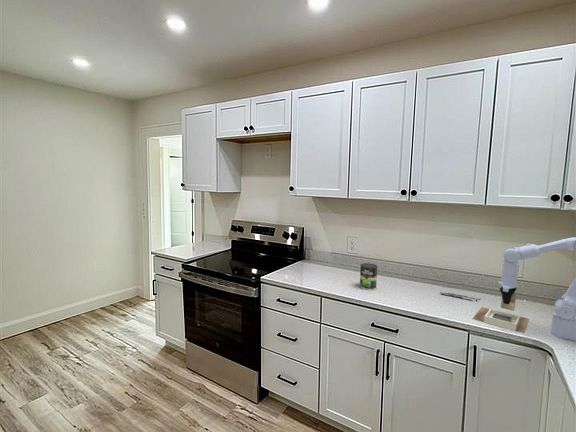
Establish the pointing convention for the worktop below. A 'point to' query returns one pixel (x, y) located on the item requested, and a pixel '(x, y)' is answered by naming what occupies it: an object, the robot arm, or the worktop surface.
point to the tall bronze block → (511, 304)
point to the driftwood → (459, 296)
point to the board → (480, 317)
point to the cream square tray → (502, 319)
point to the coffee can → (368, 276)
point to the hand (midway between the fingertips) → (506, 302)
